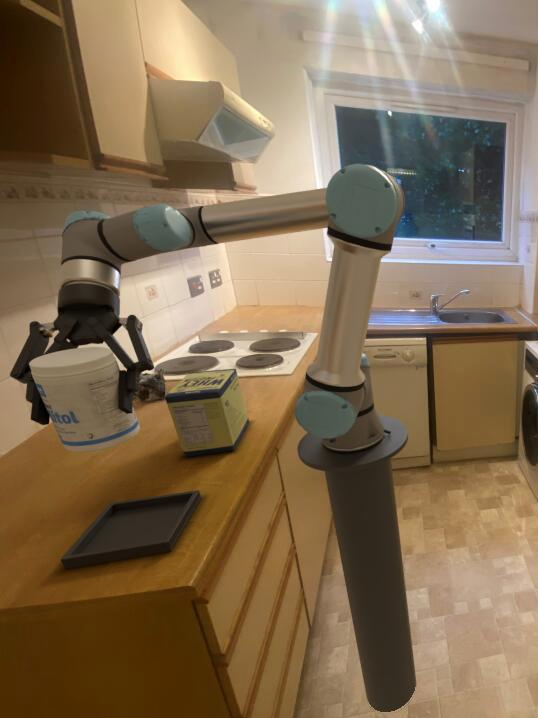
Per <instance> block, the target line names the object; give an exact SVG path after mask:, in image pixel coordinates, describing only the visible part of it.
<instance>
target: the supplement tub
mask: <svg viewBox="0 0 538 718" xmlns="http://www.w3.org/2000/svg"><path fill="white" fill-rule="evenodd" d="M29 366H30V368H31V374H32V376H33V379H34V381H35V384H36V386H37V388H38V391H39V393H40V395H41V397H42V400H43V402H44V404H45V406H46V409H47V411H48V413H49V415H50V420H51V423H52V424H53V427H54V428H55V431H56V433H57V435H58V438H59V440H60V442H61V444H62V447H63V448H64V449H65V450H67V451H69V452H73V453H80V454H81V453H82V454H83V453H84V454H85V453H93V452H94V453H95V452H99V451H104V450H108V449H111V448H115V447H118V446H120V445H122V444H125V443H127V442H129V441H130V440H132V439H133V438H135V437H136V436H137V435H138V434H139V432H140V429H141V426H140V423H139V420H138V417H137V414H136V412H135V409H134V407H133V409H132V413H129V414H126V413H125V412H123V411H122V410H120V409H119V408H118V392H119V370H121V368H120V366H119V363H118V360H117V357H116V356H115V354H114V353H113V352H112V350H111V349H110V348H109V347H103V346H88V347H78V348H76V349H69V350H63V351H58V352H54V353H50V354H46V355H43V356H40V357H37V358H35V359H33V360H32V361H31V362H30V363H29Z"/></svg>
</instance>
